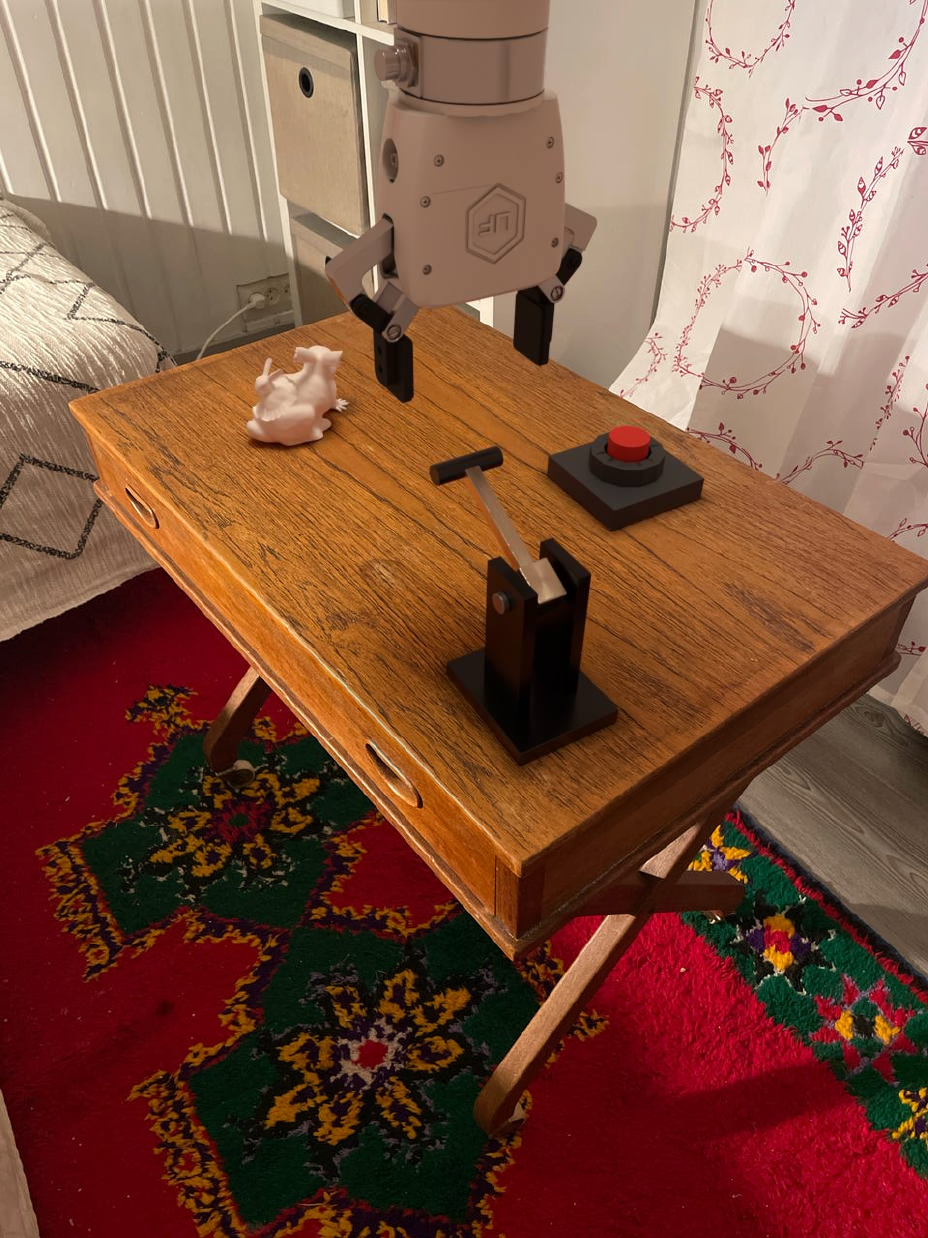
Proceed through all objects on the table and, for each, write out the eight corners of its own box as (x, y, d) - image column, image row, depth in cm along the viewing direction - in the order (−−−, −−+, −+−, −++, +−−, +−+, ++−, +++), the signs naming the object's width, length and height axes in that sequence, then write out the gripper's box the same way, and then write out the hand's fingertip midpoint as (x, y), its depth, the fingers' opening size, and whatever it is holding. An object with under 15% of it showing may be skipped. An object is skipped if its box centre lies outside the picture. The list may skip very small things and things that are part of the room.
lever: (425, 477, 65) (432, 456, 63) (489, 457, 67) (497, 436, 65) (510, 628, 62) (520, 611, 60) (574, 602, 64) (586, 585, 61)
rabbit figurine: (344, 399, 100) (337, 310, 94) (382, 431, 96) (377, 339, 89) (237, 433, 95) (222, 340, 89) (272, 468, 90) (258, 373, 84)
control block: (632, 447, 94) (637, 410, 91) (700, 498, 87) (708, 460, 85) (546, 475, 90) (549, 438, 87) (611, 531, 83) (616, 492, 81)
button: (630, 438, 88) (633, 421, 87) (655, 457, 86) (658, 440, 85) (598, 449, 87) (601, 432, 86) (623, 468, 84) (625, 450, 83)
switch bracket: (445, 673, 70) (444, 544, 62) (537, 636, 73) (547, 508, 66) (520, 766, 64) (529, 634, 56) (617, 721, 67) (639, 590, 59)
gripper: (348, 104, 43) (367, 437, 55) (652, 63, 50) (612, 367, 61) (283, 67, 48) (313, 380, 59) (569, 35, 55) (546, 322, 66)
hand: (465, 373), depth 60 cm, fingers open, 9 cm apart
